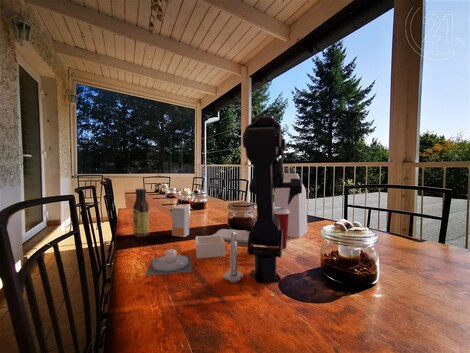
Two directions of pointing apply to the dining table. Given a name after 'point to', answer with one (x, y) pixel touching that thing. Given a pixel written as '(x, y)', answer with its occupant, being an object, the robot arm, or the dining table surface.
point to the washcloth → (240, 236)
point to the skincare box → (180, 221)
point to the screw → (233, 262)
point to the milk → (293, 207)
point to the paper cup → (282, 223)
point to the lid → (170, 262)
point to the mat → (154, 272)
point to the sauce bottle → (141, 214)
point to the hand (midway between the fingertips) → (276, 203)
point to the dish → (210, 246)
